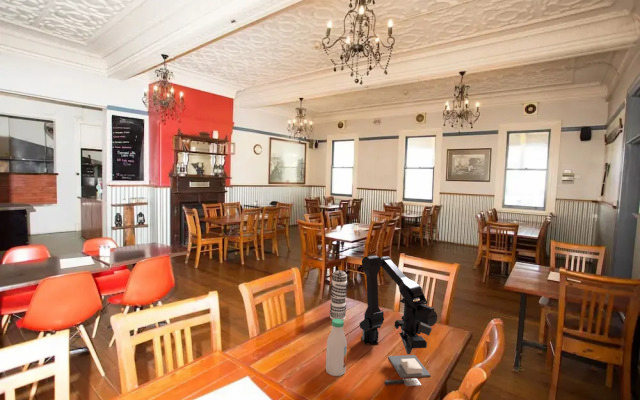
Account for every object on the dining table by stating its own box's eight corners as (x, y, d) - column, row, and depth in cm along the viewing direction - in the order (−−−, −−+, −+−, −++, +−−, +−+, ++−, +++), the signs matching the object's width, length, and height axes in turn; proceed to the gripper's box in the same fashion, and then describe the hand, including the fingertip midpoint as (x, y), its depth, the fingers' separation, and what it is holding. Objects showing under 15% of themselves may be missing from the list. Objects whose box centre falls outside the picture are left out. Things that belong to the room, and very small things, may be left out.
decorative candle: (349, 317, 176) (352, 271, 174) (339, 322, 169) (341, 275, 167) (336, 312, 182) (338, 268, 180) (325, 317, 174) (327, 271, 173)
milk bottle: (339, 379, 121) (342, 327, 120) (321, 372, 125) (324, 321, 124) (348, 369, 127) (351, 319, 126) (331, 362, 132) (334, 314, 130)
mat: (400, 377, 124) (400, 376, 123) (388, 357, 137) (388, 356, 137) (430, 376, 125) (430, 374, 125) (415, 356, 139) (415, 355, 139)
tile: (400, 363, 132) (407, 374, 125) (400, 358, 132) (407, 369, 125) (414, 363, 133) (422, 373, 126) (414, 358, 133) (422, 368, 126)
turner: (387, 387, 118) (387, 384, 118) (383, 380, 122) (383, 377, 122) (421, 385, 119) (421, 383, 119) (416, 378, 123) (416, 376, 123)
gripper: (441, 326, 122) (438, 366, 123) (419, 306, 141) (417, 341, 142) (413, 327, 121) (410, 367, 122) (395, 306, 139) (393, 342, 140)
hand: (408, 353), depth 131 cm, fingers closed
